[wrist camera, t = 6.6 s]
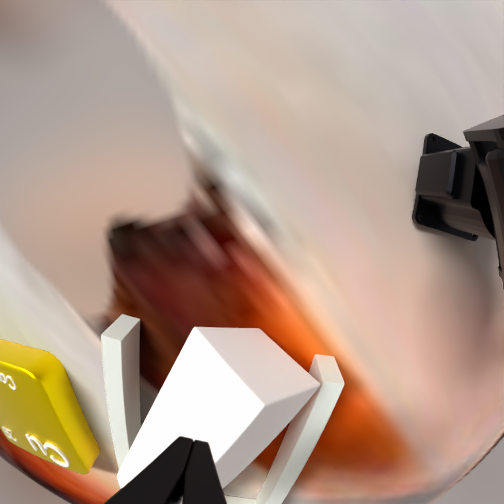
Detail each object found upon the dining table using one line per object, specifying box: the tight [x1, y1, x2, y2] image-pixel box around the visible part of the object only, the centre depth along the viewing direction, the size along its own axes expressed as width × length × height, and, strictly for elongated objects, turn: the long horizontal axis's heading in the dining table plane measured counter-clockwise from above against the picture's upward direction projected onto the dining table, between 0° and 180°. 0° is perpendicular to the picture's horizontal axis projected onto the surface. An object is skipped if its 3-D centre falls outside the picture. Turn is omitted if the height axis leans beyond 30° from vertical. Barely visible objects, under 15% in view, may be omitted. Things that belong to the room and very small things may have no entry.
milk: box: [117, 327, 320, 504], centre depth 18 cm, size 6×6×22 cm
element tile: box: [0, 339, 100, 474], centre depth 22 cm, size 15×15×5 cm
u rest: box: [101, 314, 345, 504], centre depth 21 cm, size 16×24×4 cm
